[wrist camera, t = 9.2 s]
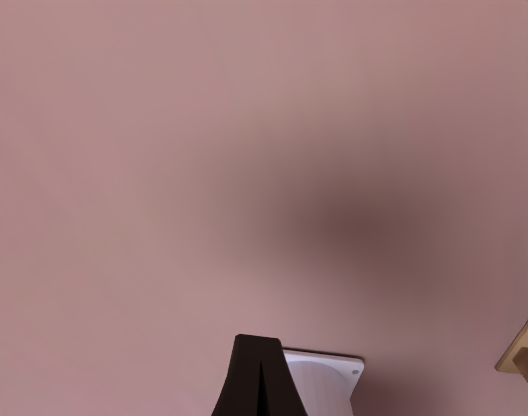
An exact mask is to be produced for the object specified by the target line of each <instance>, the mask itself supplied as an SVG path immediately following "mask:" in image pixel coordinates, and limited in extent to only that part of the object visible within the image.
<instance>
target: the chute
mask: <svg viewBox="0 0 528 416" xmlns="http://www.w3.org/2000/svg"><path fill="white" fill-rule="evenodd" d="M495 369H496V371H499V372H507V373H516V374H522V375H523V377H524V378H525V379H526V381H527V382H528V322H527V324H526V325H525V326H524V328H523V329H522V331H521V332H520V333H519V335H518V336H517V337H516V339H515V340H514V342H513V343H512V344H511V346H510V347H509V349H508V350H507V351H506V353H505V354H504V356H503V357H502V358H501V360H500V361H499V362H498V364H497V365H496V367H495Z"/></svg>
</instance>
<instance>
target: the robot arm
mask: <svg viewBox="0 0 528 416" xmlns="http://www.w3.org/2000/svg"><path fill="white" fill-rule="evenodd" d="M363 369H364V363H363V361H362V360H361V359H357V358H348V357H340V356H332V355H323V354H315V353H307V352H299V351H290V350H283V349H282V345H281V342H280V340H279V339H278V338H269V337H261V336H253V335H245V334H238V335H237V336H235V341H234V345H233V350H232V355H231V359H230V364H229V369H228V373H227V377H226V380H225V383H224V386H223V388H222V391H221V394H220V396H219V399H218V401H217V404H216V406H215V408H214V411H213V413H212V415H211V416H353V412H352V407H351V403H350V397H351V394H352V392H353V390H354V388H355V386H356V384H357V382H358V380H359V378H360V375H361V373H362V371H363Z"/></svg>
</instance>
